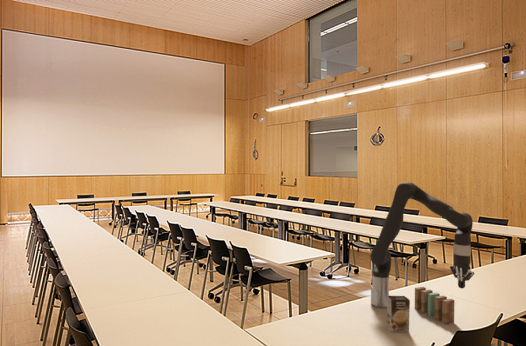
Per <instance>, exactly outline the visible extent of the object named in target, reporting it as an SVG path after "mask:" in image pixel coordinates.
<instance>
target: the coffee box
mask: <svg viewBox="0 0 526 346" xmlns="http://www.w3.org/2000/svg"><path fill="white" fill-rule="evenodd" d="M410 305H411V300H410V298H408V297H406V295H389V296H388V298H387V307H386V328H387V329H388V330H389V332H391V333H409V332H410V312H411V311H410V308H411V307H410Z"/></svg>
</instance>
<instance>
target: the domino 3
mask: <svg viewBox="0 0 526 346" xmlns="http://www.w3.org/2000/svg"><path fill="white" fill-rule="evenodd" d="M437 296H441V293H439V292H433V293H429V294H428V313H427V316H428V317H430V318H431V316H433V317H435V297H437Z"/></svg>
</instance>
